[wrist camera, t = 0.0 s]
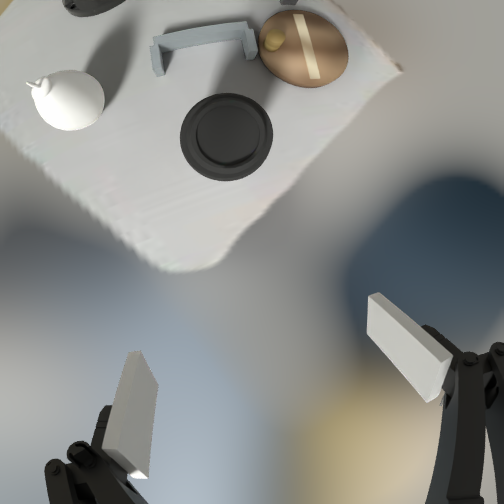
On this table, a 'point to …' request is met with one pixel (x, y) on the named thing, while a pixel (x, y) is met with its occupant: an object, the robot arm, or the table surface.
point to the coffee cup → (226, 136)
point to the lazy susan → (302, 49)
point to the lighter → (288, 2)
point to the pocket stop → (202, 41)
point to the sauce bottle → (68, 99)
